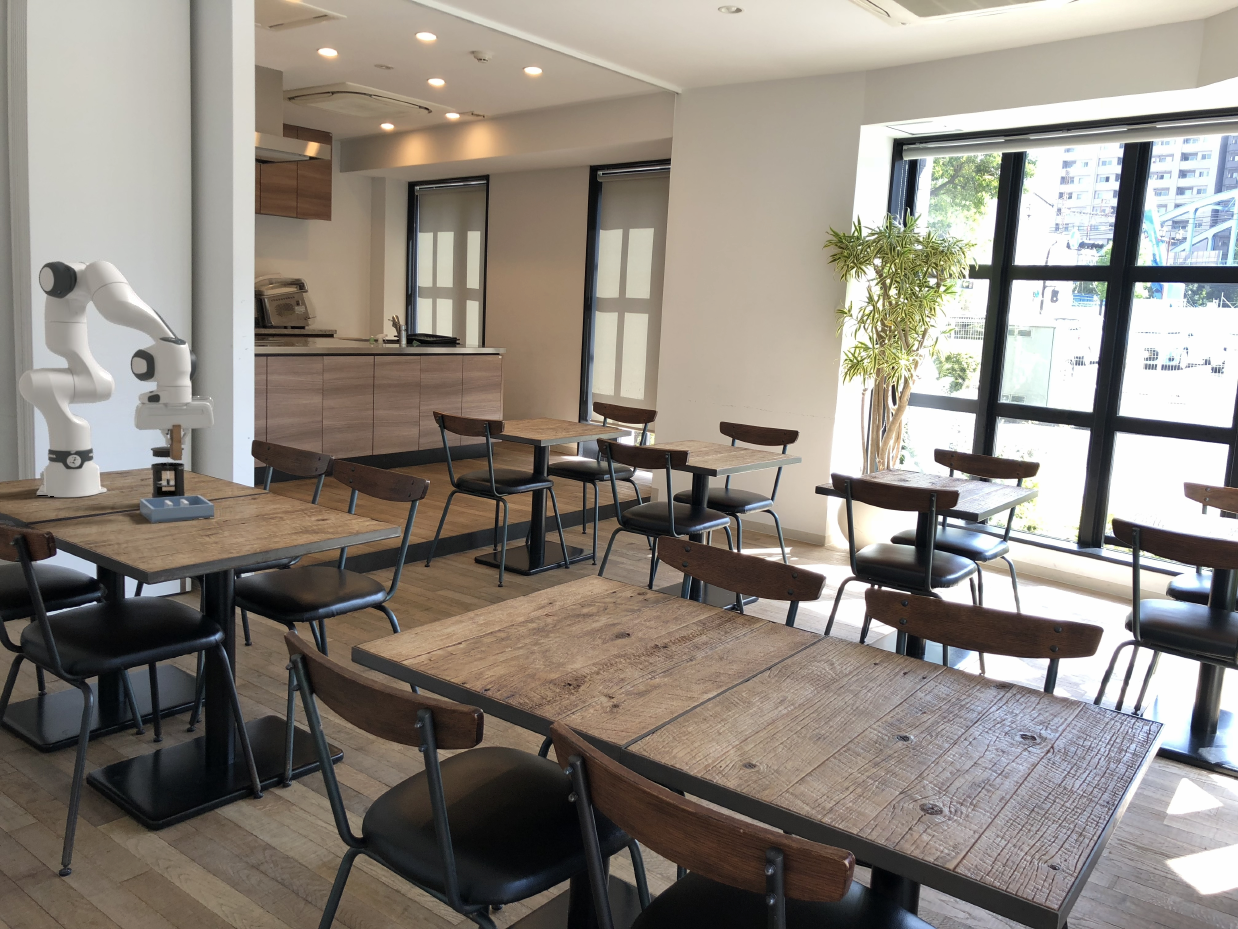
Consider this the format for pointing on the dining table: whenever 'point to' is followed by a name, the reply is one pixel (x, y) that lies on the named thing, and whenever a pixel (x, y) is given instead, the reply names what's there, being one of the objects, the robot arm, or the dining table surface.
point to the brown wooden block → (175, 443)
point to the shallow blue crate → (176, 508)
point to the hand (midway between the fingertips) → (175, 444)
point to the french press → (167, 466)
